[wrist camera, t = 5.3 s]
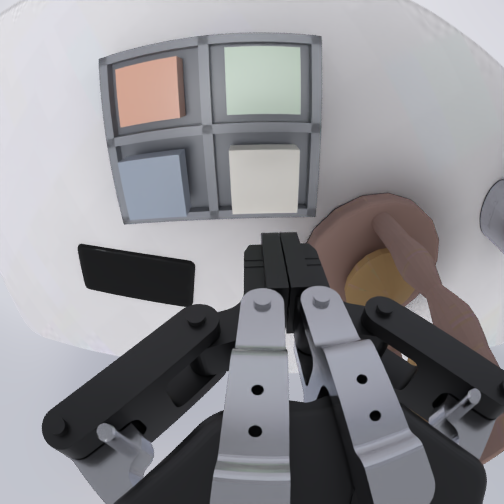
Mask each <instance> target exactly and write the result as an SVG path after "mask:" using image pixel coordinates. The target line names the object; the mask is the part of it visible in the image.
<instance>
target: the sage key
mask: <svg viewBox="0 0 504 504" xmlns="http://www.w3.org/2000/svg"><path fill="white" fill-rule="evenodd" d="M224 54H225V81H226V105H227V115H242V114H300V115H301V59H300V47H285V46H240V47H224Z"/></svg>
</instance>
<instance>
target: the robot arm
mask: <svg viewBox="0 0 504 504" xmlns="http://www.w3.org/2000/svg"><path fill="white" fill-rule="evenodd" d="M480 224H481V230H482V232H483V234H484V235H485V236H486V237H487V238H488V239H489V240H491V241H492V242H493V243H494V244H495V245H496V246H497V247H498V248H499V249H500V251H501V252H502V253H503V254H504V179H503V180H501V181H499V182H497V183H496V184H495V185H494V186H493V187H492V189H491V190H490V192H489V193H488V195H487V197H486V199H485V202H484V204H483V207H482V212H481V219H480ZM285 327H286V333H294V338H295V342H294V354H295V358H296V362H297V366H298V371H299V375H300V379H301V383H302V387H303V393H304V402H297V401H290V400H289V379H288V352H287V349H286V344H285ZM388 345H390V346H391V347H393V348H394V349H396V350H397V351H399V352H400V353H402V354H403V355H405V356H406V357H408V358H409V359H411V360H412V361H414V362H415V363H416V364H417V366H415V365H412V364H410V363H408V362H407V361H405V360H404V359H402V358H401V357H399V356H398V355H396V354H395V353H394V352H392V351H391V350H389V349H388V348H387V347H388ZM226 371H229V374H228V382H227V390H226V397H225V405H224V410H223V411H220V412H218V413H216V414H214V415H212V416H210V417H209V418H207V419H206V420H204V421H203V422H202V423H200V424H199V425H198V426H197V427H196V428H195V429H194V430H193V431H192V432H191V433H190V434H189V435H188V436H187V437H186V438H185V439H184V440H183V442H181V443H180V444H179V445H178V446H177V447H176V448H175V449H174V450H173V451H172V452H171V453H170V454H169V455H168V456H167V457H166V458H165V459H163V460H162V461H161V462H160V463H159V464H158V465H157V466H156V467H155V468H154V469H153V470H151V471H150V472H149V473H148V474H147V475H146V476H145V477H144V478H143V475H144V472H145V470H146V468H147V467H148V466H149V465H150V464H151V462H152V460H153V458H154V449H153V446H152V444H151V443H152V442H153V441H154V440H155V439H156V438H157V437H159V436H160V435H161V434H162V433H163V432H164V431H165V430H167V429H168V428H169V427H170V426H171V425H172V424H173V423H174V422H176V421H177V420H178V419H179V418H180V417H181V416H182V415H183V414H184V413H185V412H187V410H189V409H190V408H191V407H192V406H193V405H194V404H195V403H196V402H197V401H198V400H199V399H200V398H201V397H203V396H204V394H206V393H207V392H208V391H209V390H210V389H211V388H212V387H213V386H214V385H215V384H216V383H217V382H218V381H219V380H220V379H221V378H222V377H223V376H224V375H225V373H226ZM414 412H415V413H414ZM503 413H504V370H502V369H501V368H499V367H498V366H497V365H495V364H494V363H492V362H491V361H489V360H488V359H486V358H485V357H483V356H482V355H480V354H478V353H477V352H475V351H474V350H472V349H471V348H469V347H468V346H466V345H465V344H463V343H462V342H460V341H458V340H457V339H455V338H454V337H452V336H451V335H449V334H447V333H446V332H444V331H443V330H441V329H440V328H438V327H436V326H435V325H433V324H432V323H430V322H428V321H427V320H425V319H423V318H422V317H420V316H419V315H417V314H415V313H414V312H412V311H410V310H409V309H407V308H406V307H404V306H402V305H401V304H399V303H397V302H396V301H394V300H392V299H390V298H388V297H383V296H376V297H372V298H370V299H369V300H368V301H367V302H366V304H365V306H362V305H356V304H351V303H347V302H344V301H342V299H341V297H340V295H339V294H338V293H337V292H336V291H334V290H333V289H331V288H330V286H329V283H328V280H327V277H326V275H325V272H324V269H323V267H322V264H321V261H320V259H319V256H318V253H317V251H316V249H315V248H314V247H312V246H311V245H310V244H309V243H305V244H300V241H299V238H298V235H297V232H284V233H261V245H249V246H248V248H247V249H246V250H245V252H244V296H243V298H242V300H241V301H240V302H239V303H238V304H237V305H236V306H234V307H233V308H230V309H228V310H224V311H221V312H217V311H216V310H215V309H214V308H212V307H210V306H208V305H203V304H195V305H191V306H188V307H186V308H184V309H182V310H181V311H180V312H178V313H177V314H176V315H175V316H173V317H172V318H171V319H169V320H168V321H167V322H165V323H164V324H163V325H161V326H160V327H159V328H158V329H156V330H155V331H154V332H152V333H151V334H150V335H148V336H147V337H146V338H144V339H143V340H142V341H140V342H139V343H138V344H137V345H135V346H134V347H133V348H131V349H130V350H129V351H127V352H126V353H125V354H123V355H122V356H121V357H119V358H118V359H117V360H116V361H114V362H113V363H112V364H110V365H109V366H108V367H106V368H105V369H104V370H102V371H101V372H100V373H98V374H97V375H96V376H95V377H93V378H92V379H91V380H89V381H88V382H87V383H85V384H84V385H83V386H81V387H80V388H79V389H77V390H76V391H75V392H73V393H72V394H71V395H70V396H68V397H67V398H66V399H64V400H63V401H62V402H60V403H59V404H58V405H56V406H55V407H54V408H52V409H51V410H50V411H49V412H48V413H47V414H46V416H45V417H44V419H43V423H42V433H43V436H44V439H45V440H46V442H47V443H48V444H49V445H50V446H51V447H53V448H55V449H56V450H58V451H59V452H61V453H63V454H64V455H66V456H67V457H68V458H70V459H71V460H72V461H73V462H74V463H75V465H76V466H77V467H78V469H79V470H80V472H81V473H82V475H83V476H84V477H85V479H86V480H87V481H88V483H89V484H90V485H91V486H92V488H93V489H94V490H95V491H96V492H97V494H98V495H99V496H100V498H101V499H102V500H103V501H104V502H105V503H106V504H482V503H483V498H484V495H485V491H486V484H487V477H486V472H485V469H484V466H483V464H482V463H481V462H480V460H479V459H480V457H481V455H482V453H483V451H484V448H485V446H486V444H487V441H488V439H489V436H490V434H491V431H492V429H493V426H494V423H495V420H496V419H497V418H498V417H499V416H500V415H501V414H503ZM417 414H418V415H419V416H418V415H417ZM420 416H421V417H422V418H424V419H425V420H427V421H428V422H429V423H428V422H426V421H425V420H424V419H422V418H421V417H420Z"/></svg>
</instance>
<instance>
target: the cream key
mask: <svg viewBox="0 0 504 504" xmlns="http://www.w3.org/2000/svg"><path fill="white" fill-rule="evenodd" d="M299 164H300V149H299V148H298V147H297V146H296V145H295V144H260V145H230V148H229V165H230V182H231V199H232V214H262V213H297V209H298V189H299Z"/></svg>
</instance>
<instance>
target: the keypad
mask: <svg viewBox="0 0 504 504" xmlns="http://www.w3.org/2000/svg"><path fill="white" fill-rule="evenodd" d="M240 46H285V47H300V59H301V115H300V114H242V115H227V105H226V81H225V54H224V47H240ZM173 56H177V57H180V58H182V61H183V81H184V98H185V112H186V116H183V117H181V118H175V119H168V120H161V121H154V122H148V123H142V124H137V125H131V126H126V127H120V119H119V110H118V100H117V89H116V75H115V69H119V68H123V67H126V66H130V65H134V64H138V63H143V62H147V61H152V60H157V59H162V58H168V57H173ZM99 76H100V90H101V101H102V111H103V119H104V127H105V134H106V141H107V147H108V153H109V159H110V164H111V170H112V175H113V180H114V184H115V189H116V194H117V198H118V202H119V207H120V211H121V215H122V219H123V223H124V224H137V223H152V222H169V221H187V220H208V219H233V218H266V217H315V216H316V204H317V192H318V178H319V163H320V144H321V117H322V39H321V36H316V35H306V34H292V33H230V34H216V35H206V36H197V37H190V38H183V39H177V40H171V41H166V42H160V43H156V44H151V45H147V46H142V47H138V48H134V49H130V50H127V51H123V52H120V53H116V54H113V55H110V56H107V57H104V58H101V59H99ZM260 144H295V145H296V146H297V147H298V148H299V149H300V164H299V189H298V209H297V213H262V214H232V199H231V182H230V165H229V148H230V145H260ZM178 149H185V157H186V166H187V175H188V184H189V192H190V200H191V208H190V210H189V213H188V215H187V216H186V217H169V218H154V219H139V220H130V218H129V214H128V210H127V206H126V201H125V197H124V192H123V187H122V182H121V177H120V172H119V167H118V162H120V161H121V160H123V159H124V158H126V157H127V156H132V155H139V154H145V153H153V152H161V151H169V150H178Z"/></svg>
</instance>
